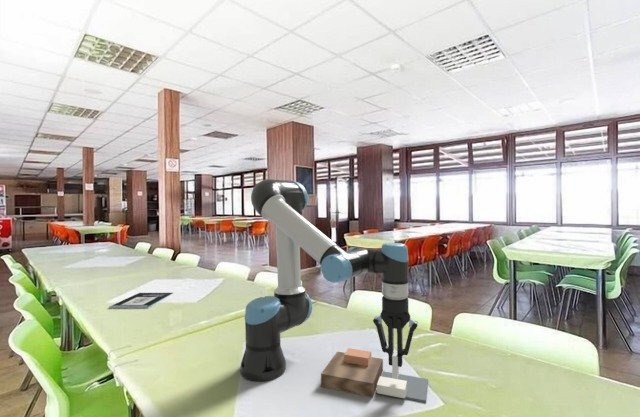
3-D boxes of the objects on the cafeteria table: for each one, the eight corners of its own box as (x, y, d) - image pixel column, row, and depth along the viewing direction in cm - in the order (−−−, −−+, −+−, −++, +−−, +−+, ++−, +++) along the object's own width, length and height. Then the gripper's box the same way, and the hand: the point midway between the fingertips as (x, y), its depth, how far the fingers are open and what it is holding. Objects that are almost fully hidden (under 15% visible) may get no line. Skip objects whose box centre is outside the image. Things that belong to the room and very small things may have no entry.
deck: (321, 386, 101) (321, 373, 101) (337, 362, 116) (337, 351, 116) (372, 397, 95) (372, 383, 95) (382, 370, 110) (382, 358, 110)
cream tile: (376, 393, 96) (376, 384, 96) (380, 384, 101) (380, 376, 101) (405, 398, 93) (405, 389, 93) (406, 389, 98) (406, 380, 98)
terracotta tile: (344, 362, 108) (344, 354, 108) (348, 355, 113) (348, 348, 113) (368, 366, 105) (368, 358, 105) (371, 359, 110) (371, 351, 110)
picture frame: (173, 294, 208) (173, 291, 208) (147, 310, 178) (147, 306, 178) (139, 294, 208) (139, 291, 208) (108, 309, 178) (108, 306, 178)
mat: (376, 392, 97) (376, 390, 97) (383, 373, 108) (383, 371, 108) (426, 402, 92) (426, 400, 92) (428, 380, 103) (428, 379, 103)
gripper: (370, 297, 95) (370, 378, 95) (417, 302, 90) (417, 387, 91) (375, 291, 102) (376, 366, 102) (419, 294, 97) (419, 374, 98)
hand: (395, 376), depth 97 cm, fingers closed
